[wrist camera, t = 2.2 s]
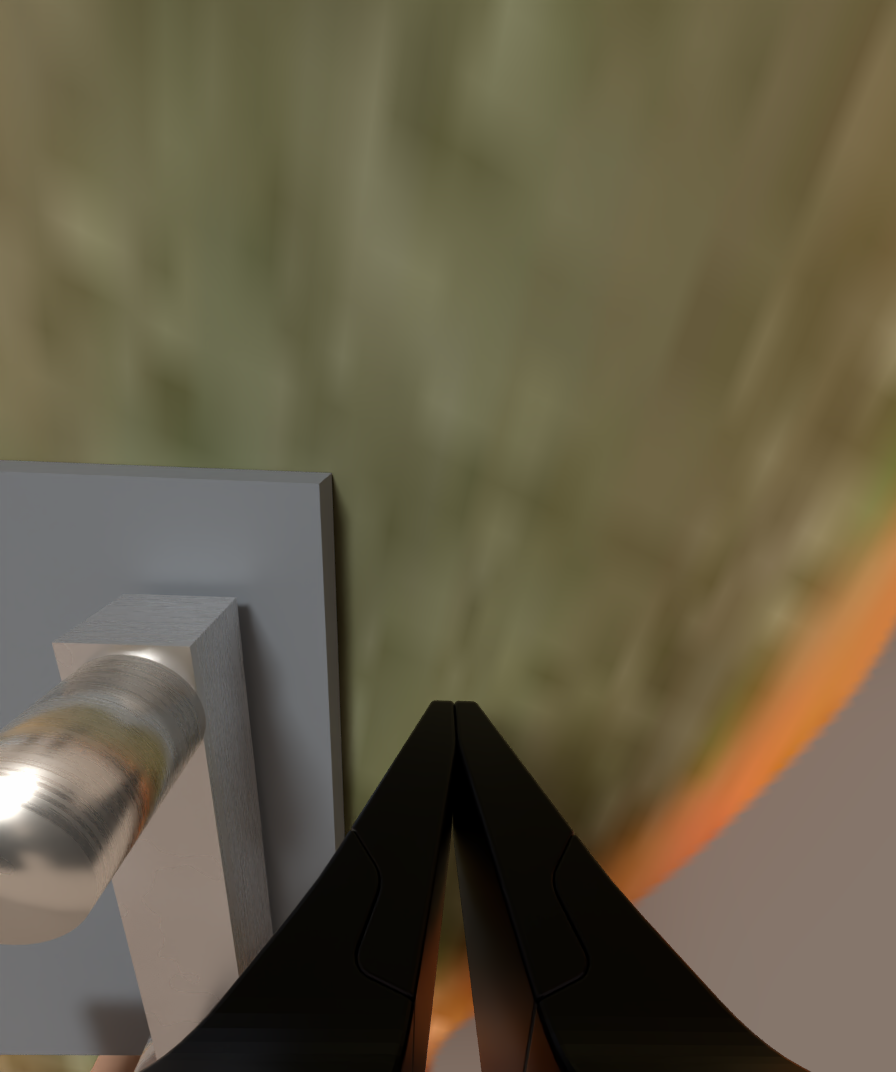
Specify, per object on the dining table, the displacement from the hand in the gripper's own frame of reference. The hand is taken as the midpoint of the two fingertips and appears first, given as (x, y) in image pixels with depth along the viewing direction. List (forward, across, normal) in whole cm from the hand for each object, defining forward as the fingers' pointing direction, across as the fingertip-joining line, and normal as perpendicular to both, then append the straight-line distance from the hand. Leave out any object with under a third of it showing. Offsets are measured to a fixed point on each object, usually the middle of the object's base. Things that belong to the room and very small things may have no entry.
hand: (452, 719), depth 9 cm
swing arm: (+2, +6, +7) cm, 9 cm away
